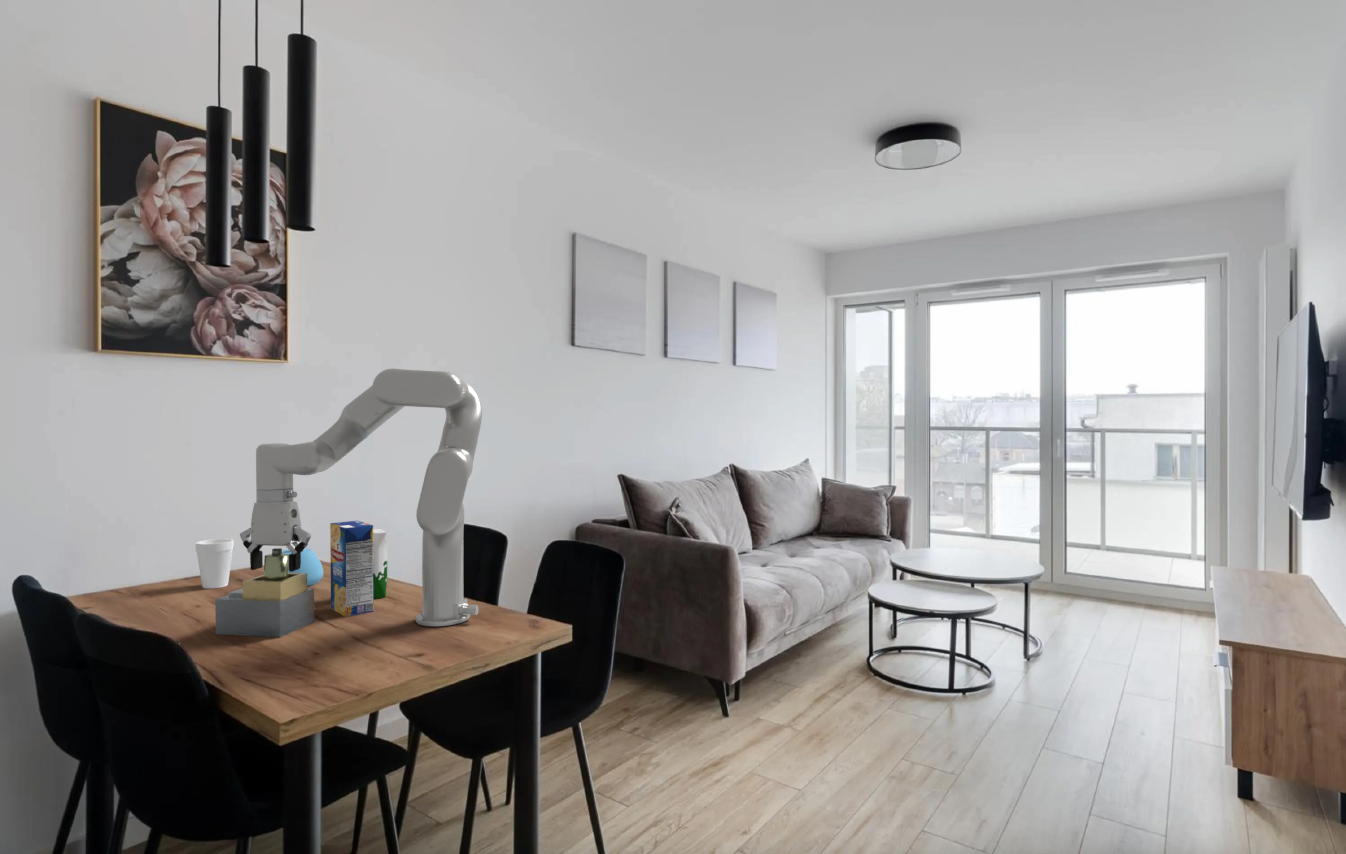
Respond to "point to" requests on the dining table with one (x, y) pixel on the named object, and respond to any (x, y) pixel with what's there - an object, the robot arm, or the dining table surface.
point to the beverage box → (352, 568)
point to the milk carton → (379, 563)
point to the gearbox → (266, 607)
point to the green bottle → (276, 565)
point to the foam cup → (214, 561)
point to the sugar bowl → (309, 566)
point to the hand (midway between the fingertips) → (275, 569)
